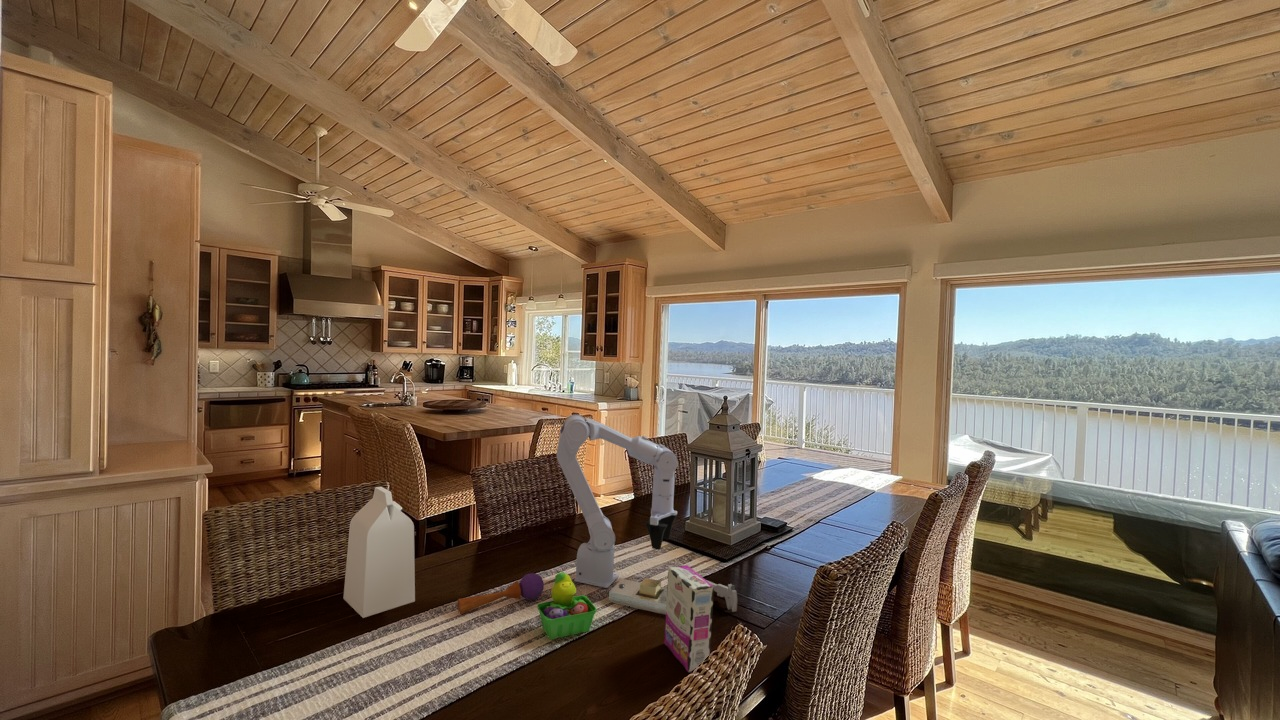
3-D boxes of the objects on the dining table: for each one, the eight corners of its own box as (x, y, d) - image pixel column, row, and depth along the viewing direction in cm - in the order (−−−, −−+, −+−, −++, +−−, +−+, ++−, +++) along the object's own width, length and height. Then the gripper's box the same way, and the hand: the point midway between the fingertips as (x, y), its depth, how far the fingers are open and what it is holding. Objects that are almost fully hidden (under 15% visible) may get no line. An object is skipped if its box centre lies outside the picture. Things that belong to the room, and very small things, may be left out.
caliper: (736, 613, 128) (738, 587, 127) (733, 614, 127) (734, 588, 127) (691, 578, 146) (692, 555, 146) (687, 578, 145) (689, 555, 145)
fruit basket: (545, 644, 110) (548, 590, 110) (533, 623, 118) (535, 573, 118) (596, 633, 116) (599, 581, 115) (581, 614, 123) (584, 565, 123)
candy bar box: (711, 669, 105) (715, 586, 104) (688, 674, 103) (692, 589, 102) (684, 639, 115) (687, 563, 114) (663, 643, 113) (666, 566, 112)
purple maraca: (455, 590, 124) (537, 568, 134) (457, 616, 123) (539, 592, 134) (460, 596, 119) (546, 573, 129) (463, 624, 118) (548, 598, 129)
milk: (343, 598, 125) (347, 488, 125) (393, 583, 134) (397, 480, 133) (362, 618, 117) (366, 500, 116) (414, 601, 126) (418, 491, 125)
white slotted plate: (608, 601, 130) (609, 590, 130) (621, 588, 137) (621, 577, 137) (680, 618, 124) (681, 606, 124) (689, 602, 131) (689, 591, 131)
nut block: (638, 604, 129) (639, 584, 129) (644, 597, 133) (645, 577, 133) (654, 608, 128) (655, 587, 128) (659, 601, 132) (660, 580, 131)
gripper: (669, 502, 135) (667, 555, 136) (684, 489, 149) (682, 537, 149) (643, 498, 138) (640, 551, 138) (660, 485, 151) (658, 533, 152)
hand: (660, 543), depth 144 cm, fingers open, 7 cm apart
